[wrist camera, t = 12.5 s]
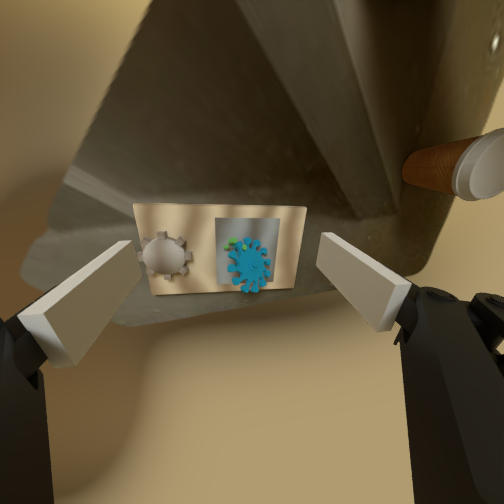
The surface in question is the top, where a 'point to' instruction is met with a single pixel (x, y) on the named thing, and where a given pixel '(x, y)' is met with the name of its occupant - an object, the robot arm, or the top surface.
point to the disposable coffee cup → (460, 167)
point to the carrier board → (215, 244)
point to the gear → (248, 263)
